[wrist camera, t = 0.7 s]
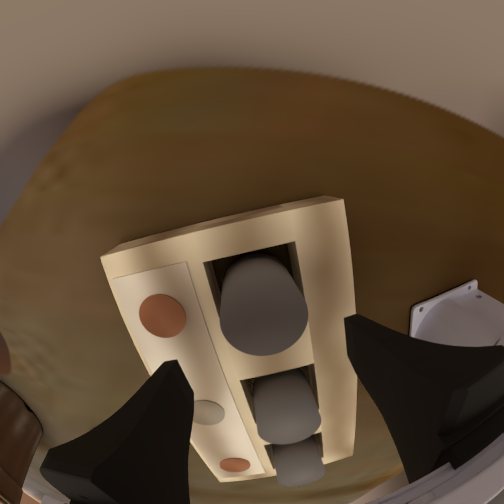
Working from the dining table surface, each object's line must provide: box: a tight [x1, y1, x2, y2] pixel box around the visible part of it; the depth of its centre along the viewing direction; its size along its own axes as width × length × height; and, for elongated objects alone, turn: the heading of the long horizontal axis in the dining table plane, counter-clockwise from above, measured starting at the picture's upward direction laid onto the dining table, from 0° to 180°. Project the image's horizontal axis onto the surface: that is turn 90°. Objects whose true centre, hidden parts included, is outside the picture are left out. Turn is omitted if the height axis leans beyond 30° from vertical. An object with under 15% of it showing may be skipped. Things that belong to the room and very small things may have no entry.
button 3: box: [272, 435, 325, 487], centre depth 20 cm, size 4×4×4 cm
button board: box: [100, 195, 357, 482], centre depth 20 cm, size 15×27×4 cm, turn 12°
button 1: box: [220, 253, 308, 356], centre depth 15 cm, size 4×4×4 cm
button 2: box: [253, 368, 321, 445], centre depth 18 cm, size 4×4×4 cm
